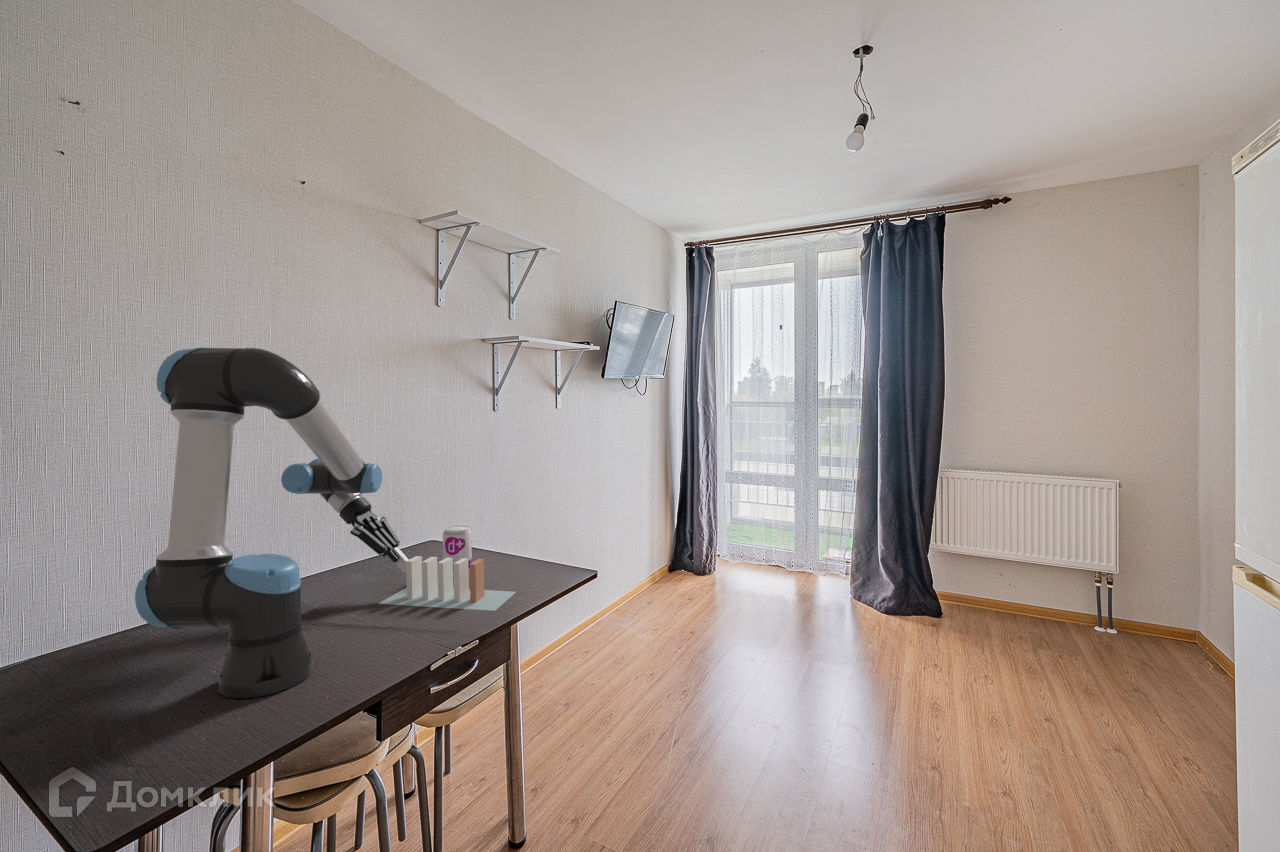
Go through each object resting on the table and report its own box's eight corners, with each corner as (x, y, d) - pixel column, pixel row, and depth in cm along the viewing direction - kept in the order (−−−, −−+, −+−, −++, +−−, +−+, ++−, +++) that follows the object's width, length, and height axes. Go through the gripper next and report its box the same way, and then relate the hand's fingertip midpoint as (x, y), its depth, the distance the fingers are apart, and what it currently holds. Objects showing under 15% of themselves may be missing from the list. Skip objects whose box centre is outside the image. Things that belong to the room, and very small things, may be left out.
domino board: (495, 615, 139) (494, 610, 139) (378, 608, 145) (378, 603, 145) (516, 596, 153) (516, 591, 153) (409, 590, 159) (409, 585, 159)
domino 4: (468, 595, 151) (468, 558, 150) (459, 601, 146) (459, 563, 145) (463, 594, 151) (462, 558, 151) (454, 601, 146) (453, 563, 146)
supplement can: (467, 581, 166) (466, 531, 165) (439, 581, 166) (438, 531, 165) (475, 573, 174) (474, 525, 173) (449, 573, 174) (448, 525, 174)
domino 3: (453, 594, 151) (452, 557, 151) (443, 600, 147) (443, 563, 146) (447, 593, 152) (447, 557, 151) (438, 600, 147) (437, 562, 146)
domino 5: (484, 596, 150) (483, 559, 150) (476, 602, 145) (475, 564, 145) (478, 595, 150) (478, 558, 150) (470, 602, 145) (469, 564, 145)
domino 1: (422, 592, 153) (421, 556, 153) (412, 598, 148) (411, 561, 148) (417, 592, 153) (416, 556, 153) (406, 598, 148) (405, 561, 148)
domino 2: (437, 593, 152) (437, 557, 152) (428, 599, 147) (427, 562, 147) (432, 593, 152) (431, 556, 152) (422, 599, 148) (421, 562, 147)
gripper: (357, 509, 160) (412, 570, 158) (325, 519, 147) (384, 585, 145) (374, 491, 159) (429, 552, 157) (343, 500, 146) (403, 566, 144)
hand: (408, 568), depth 151 cm, fingers closed
